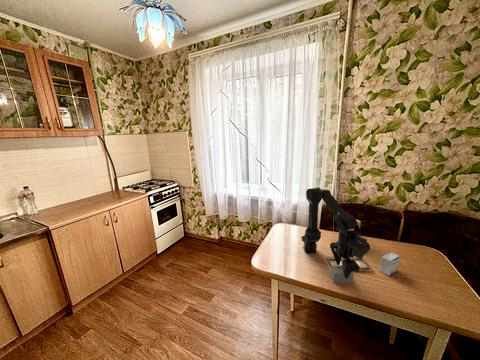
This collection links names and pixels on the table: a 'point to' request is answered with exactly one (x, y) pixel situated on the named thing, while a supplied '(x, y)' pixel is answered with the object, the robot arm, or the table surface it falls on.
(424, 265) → the table surface
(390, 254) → the medicine box
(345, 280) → the grey box with label
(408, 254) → the table surface
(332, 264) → the tray
